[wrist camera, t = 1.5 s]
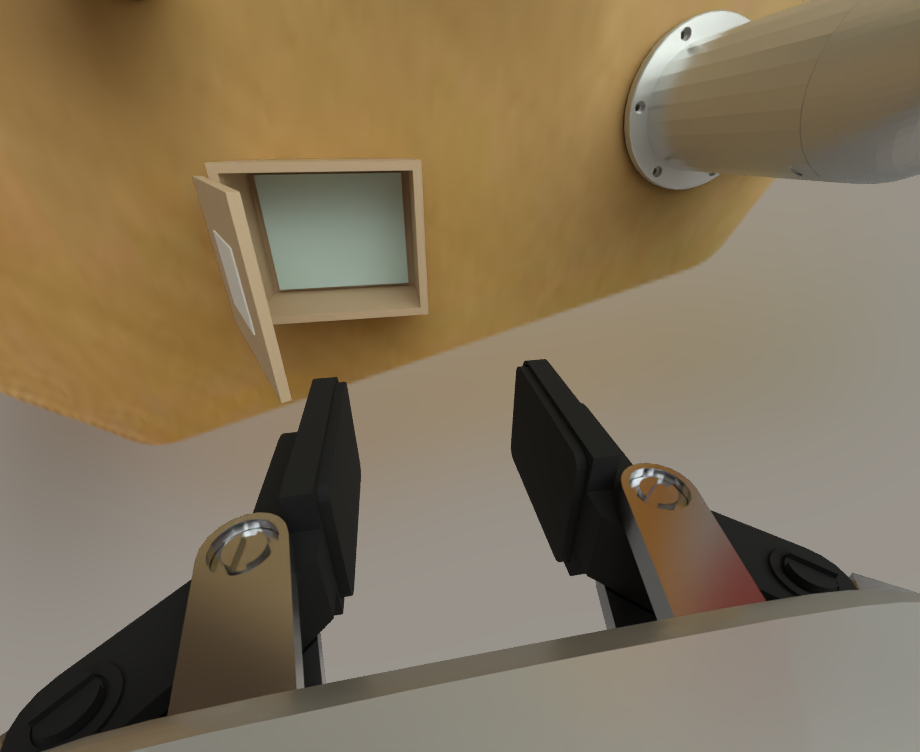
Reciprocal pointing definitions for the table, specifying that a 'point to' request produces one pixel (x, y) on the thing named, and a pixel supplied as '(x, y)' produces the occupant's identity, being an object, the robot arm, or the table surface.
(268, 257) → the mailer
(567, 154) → the table surface
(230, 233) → the lid
